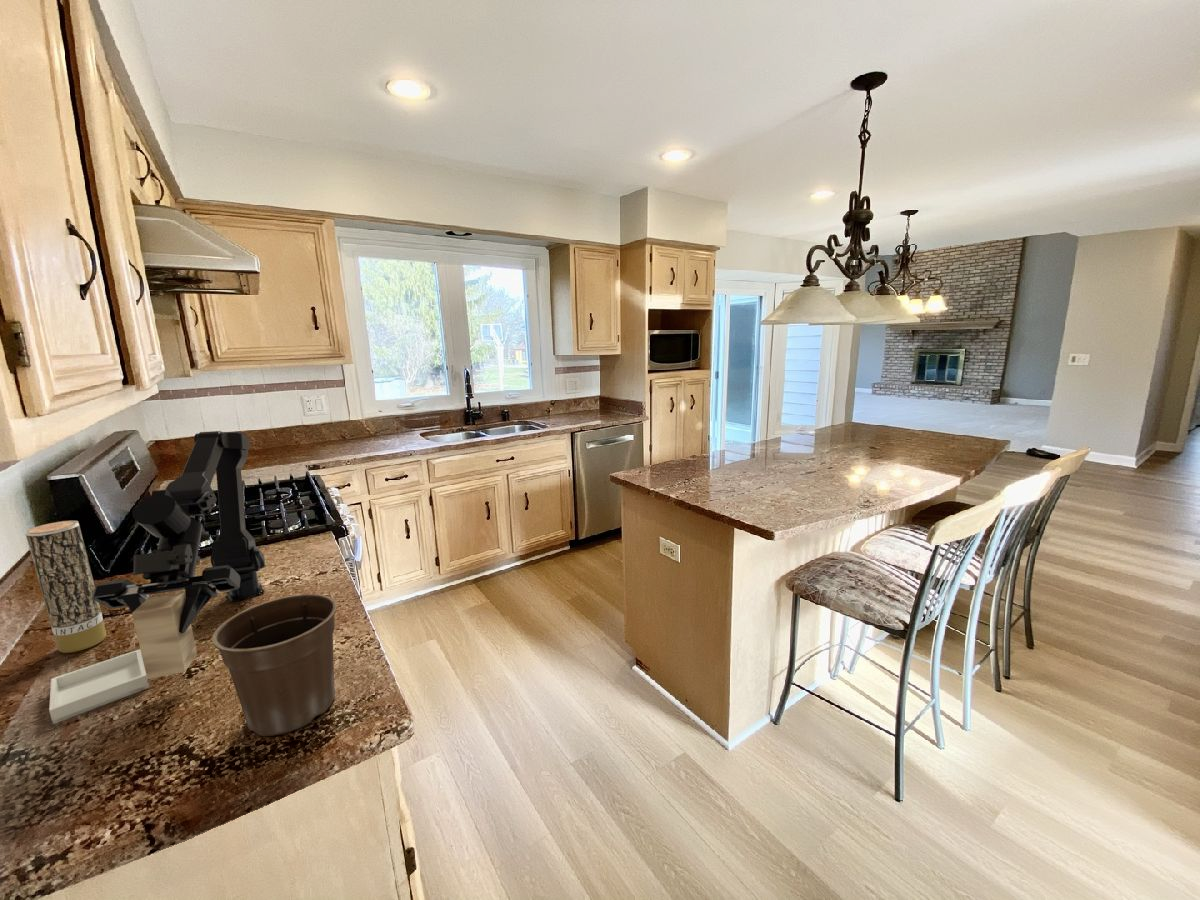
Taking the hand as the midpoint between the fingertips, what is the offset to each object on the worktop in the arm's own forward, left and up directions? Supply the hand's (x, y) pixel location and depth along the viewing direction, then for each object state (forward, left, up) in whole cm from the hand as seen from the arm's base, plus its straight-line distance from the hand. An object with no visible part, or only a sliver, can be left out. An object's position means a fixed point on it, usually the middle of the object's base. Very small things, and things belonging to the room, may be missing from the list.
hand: (161, 636), depth 80 cm
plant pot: (+19, +13, -11) cm, 25 cm away
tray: (-11, -8, -11) cm, 18 cm away
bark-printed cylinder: (-33, -10, -11) cm, 37 cm away
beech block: (-1, +1, -7) cm, 7 cm away
